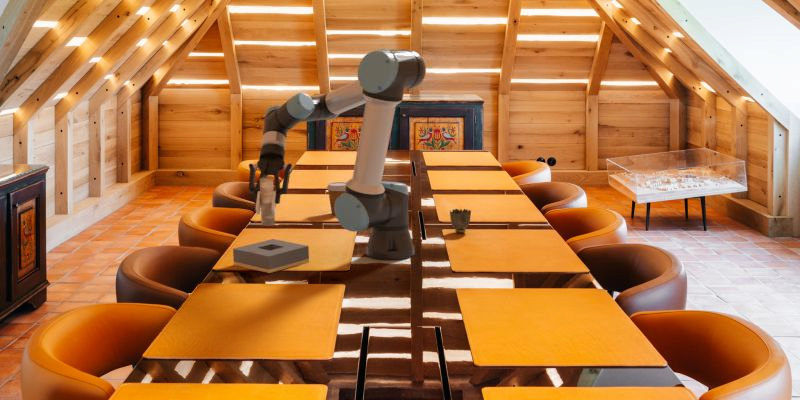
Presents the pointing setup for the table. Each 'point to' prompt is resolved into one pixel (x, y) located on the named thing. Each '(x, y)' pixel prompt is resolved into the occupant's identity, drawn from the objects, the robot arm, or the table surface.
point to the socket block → (271, 255)
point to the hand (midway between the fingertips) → (265, 211)
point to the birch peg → (266, 201)
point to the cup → (460, 220)
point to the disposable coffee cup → (335, 192)
